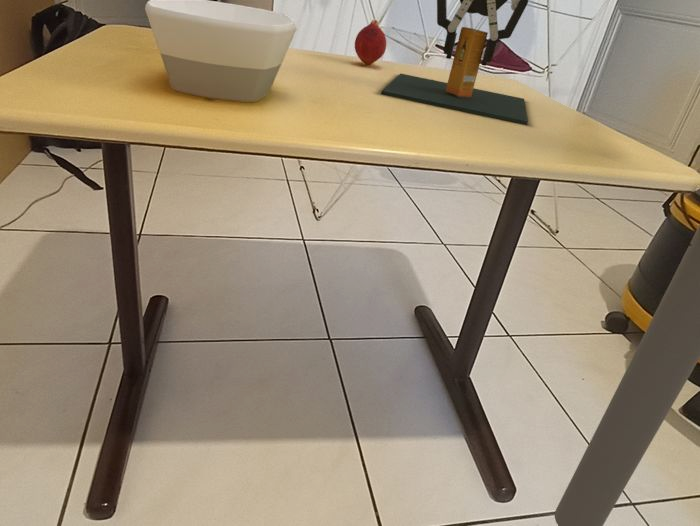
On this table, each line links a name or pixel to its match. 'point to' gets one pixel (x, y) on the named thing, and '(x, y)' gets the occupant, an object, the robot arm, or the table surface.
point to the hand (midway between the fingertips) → (466, 60)
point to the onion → (370, 43)
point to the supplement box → (466, 62)
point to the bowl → (220, 47)
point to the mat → (458, 98)
